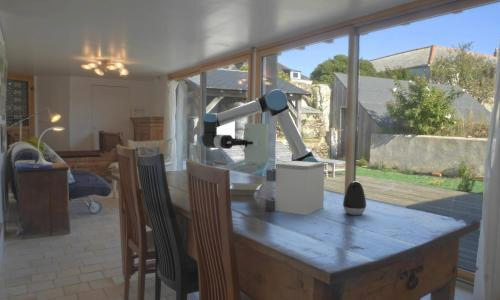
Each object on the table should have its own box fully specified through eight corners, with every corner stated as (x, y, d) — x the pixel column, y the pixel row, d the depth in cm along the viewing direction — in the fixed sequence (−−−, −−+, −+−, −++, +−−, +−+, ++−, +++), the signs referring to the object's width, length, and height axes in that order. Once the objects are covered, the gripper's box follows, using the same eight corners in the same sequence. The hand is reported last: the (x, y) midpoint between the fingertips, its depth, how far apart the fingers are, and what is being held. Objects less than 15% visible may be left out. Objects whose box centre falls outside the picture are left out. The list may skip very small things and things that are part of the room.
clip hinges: (272, 207, 188) (273, 168, 187) (279, 208, 186) (280, 169, 185) (265, 210, 183) (266, 170, 181) (272, 211, 181) (273, 170, 179)
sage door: (247, 161, 207) (247, 123, 206) (268, 162, 200) (268, 123, 199) (243, 161, 203) (243, 123, 202) (264, 163, 196) (264, 123, 195)
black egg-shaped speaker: (340, 214, 176) (341, 181, 175) (345, 210, 185) (346, 178, 184) (363, 217, 171) (364, 183, 170) (367, 213, 180) (369, 180, 179)
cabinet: (293, 203, 199) (294, 160, 197) (323, 207, 190) (324, 162, 189) (274, 210, 182) (275, 163, 181) (306, 215, 173) (307, 166, 172)
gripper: (232, 147, 220) (268, 149, 207) (215, 149, 206) (252, 151, 194) (232, 134, 219) (268, 135, 207) (215, 135, 206) (252, 136, 193)
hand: (260, 143), depth 200 cm, fingers closed on sage door, 3 cm apart
